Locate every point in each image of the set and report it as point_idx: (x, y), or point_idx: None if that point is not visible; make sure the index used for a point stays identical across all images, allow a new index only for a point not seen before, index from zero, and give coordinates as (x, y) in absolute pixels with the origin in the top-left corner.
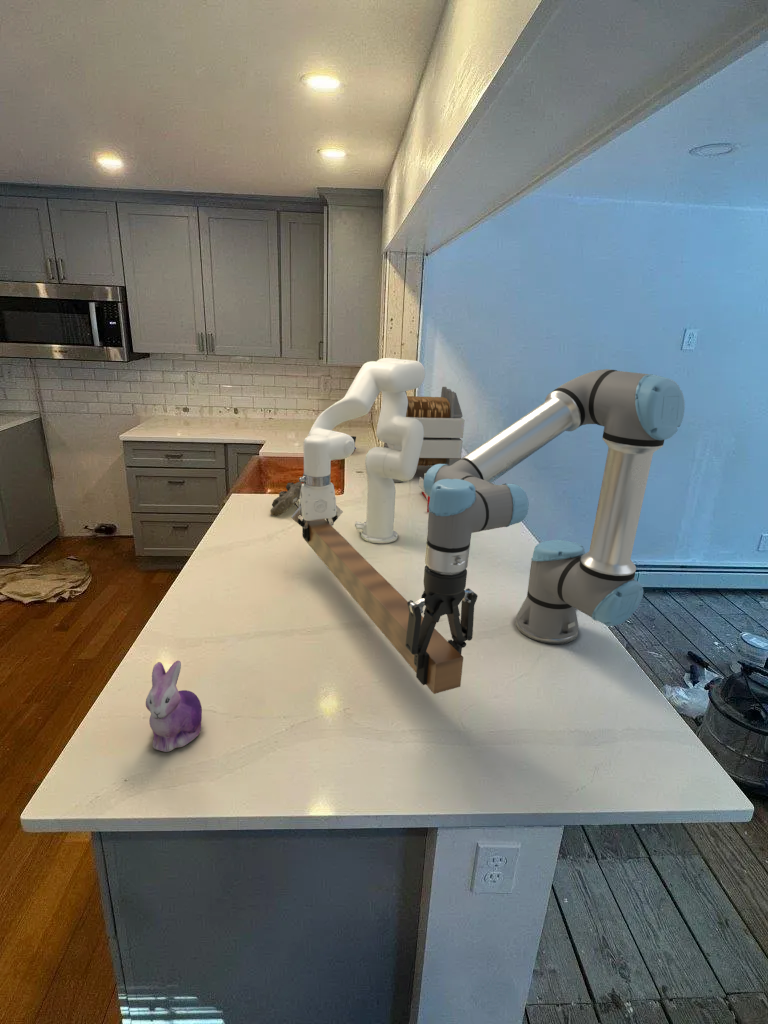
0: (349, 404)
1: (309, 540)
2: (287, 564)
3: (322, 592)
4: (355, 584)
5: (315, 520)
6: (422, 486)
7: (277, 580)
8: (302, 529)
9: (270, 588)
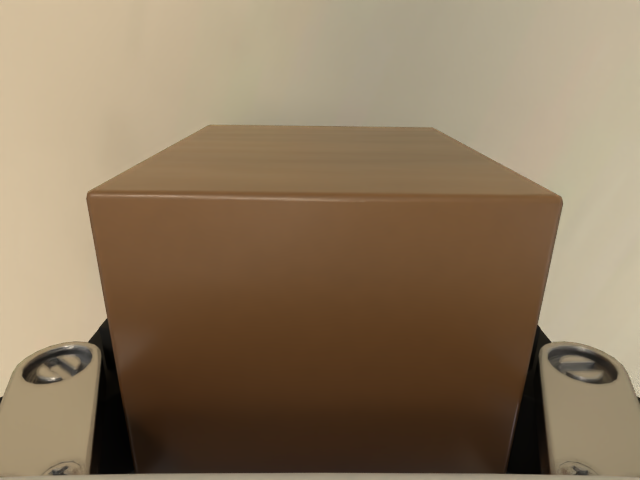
0: None
1: None
2: (145, 29)
3: None
4: None
5: (314, 385)
6: None
7: (52, 239)
8: (89, 341)
9: (7, 313)
